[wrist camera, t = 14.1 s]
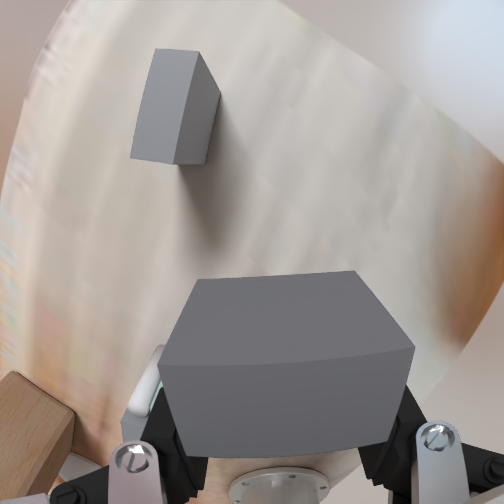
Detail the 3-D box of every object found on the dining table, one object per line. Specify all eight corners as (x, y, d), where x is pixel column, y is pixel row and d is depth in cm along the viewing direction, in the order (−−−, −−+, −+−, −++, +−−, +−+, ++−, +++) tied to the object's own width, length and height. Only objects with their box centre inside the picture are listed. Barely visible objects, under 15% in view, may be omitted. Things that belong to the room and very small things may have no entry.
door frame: (172, 401, 25) (150, 466, 18) (151, 396, 25) (125, 459, 18) (220, 92, 18) (199, 51, 11) (192, 88, 18) (155, 48, 11)
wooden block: (78, 410, 27) (3, 542, 8) (73, 447, 29) (20, 555, 10) (12, 364, 26) (-80, 469, 7) (15, 409, 28) (-51, 500, 9)
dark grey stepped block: (197, 279, 10) (156, 364, 5) (354, 270, 10) (415, 346, 5) (219, 413, 11) (206, 504, 7) (340, 406, 11) (365, 493, 7)
